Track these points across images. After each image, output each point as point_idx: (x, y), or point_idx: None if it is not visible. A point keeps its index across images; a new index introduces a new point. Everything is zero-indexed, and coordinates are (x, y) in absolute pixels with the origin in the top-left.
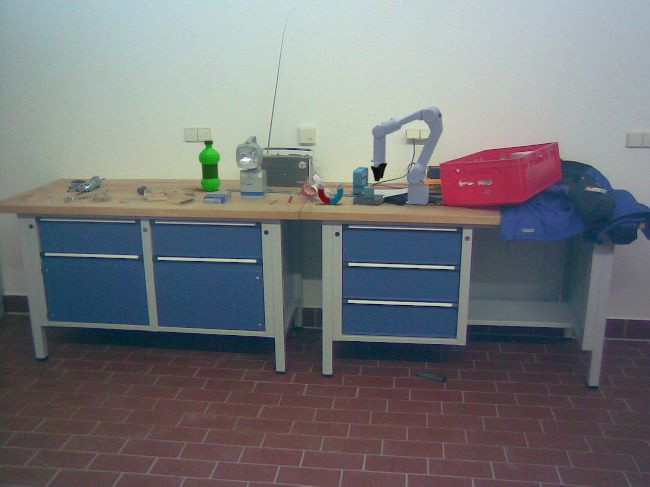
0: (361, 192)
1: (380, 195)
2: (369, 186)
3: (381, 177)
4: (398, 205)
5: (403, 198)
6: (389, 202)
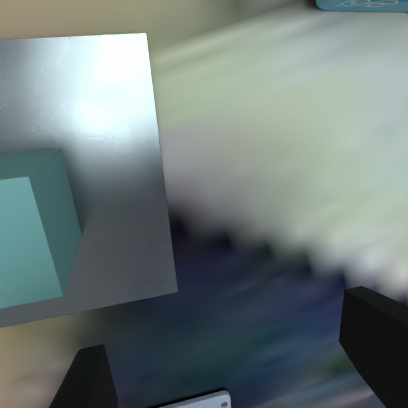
0: (320, 3)
1: (143, 273)
2: (42, 233)
3: (350, 341)
4: (50, 403)
5: (270, 344)
6: (114, 324)
